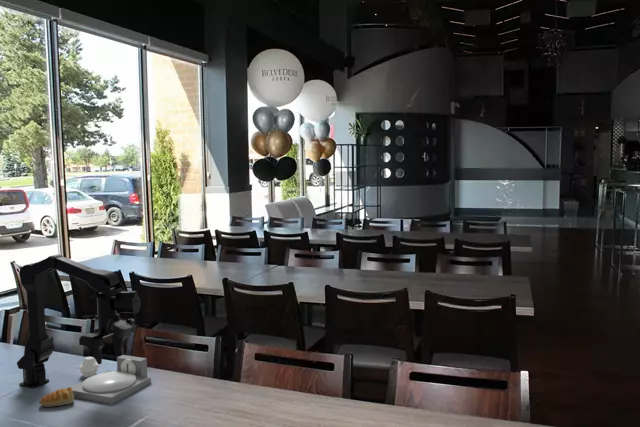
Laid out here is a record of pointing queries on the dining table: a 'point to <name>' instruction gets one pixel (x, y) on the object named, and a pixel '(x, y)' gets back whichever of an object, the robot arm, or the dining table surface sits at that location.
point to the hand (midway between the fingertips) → (108, 360)
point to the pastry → (58, 397)
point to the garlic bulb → (89, 367)
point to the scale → (115, 381)
